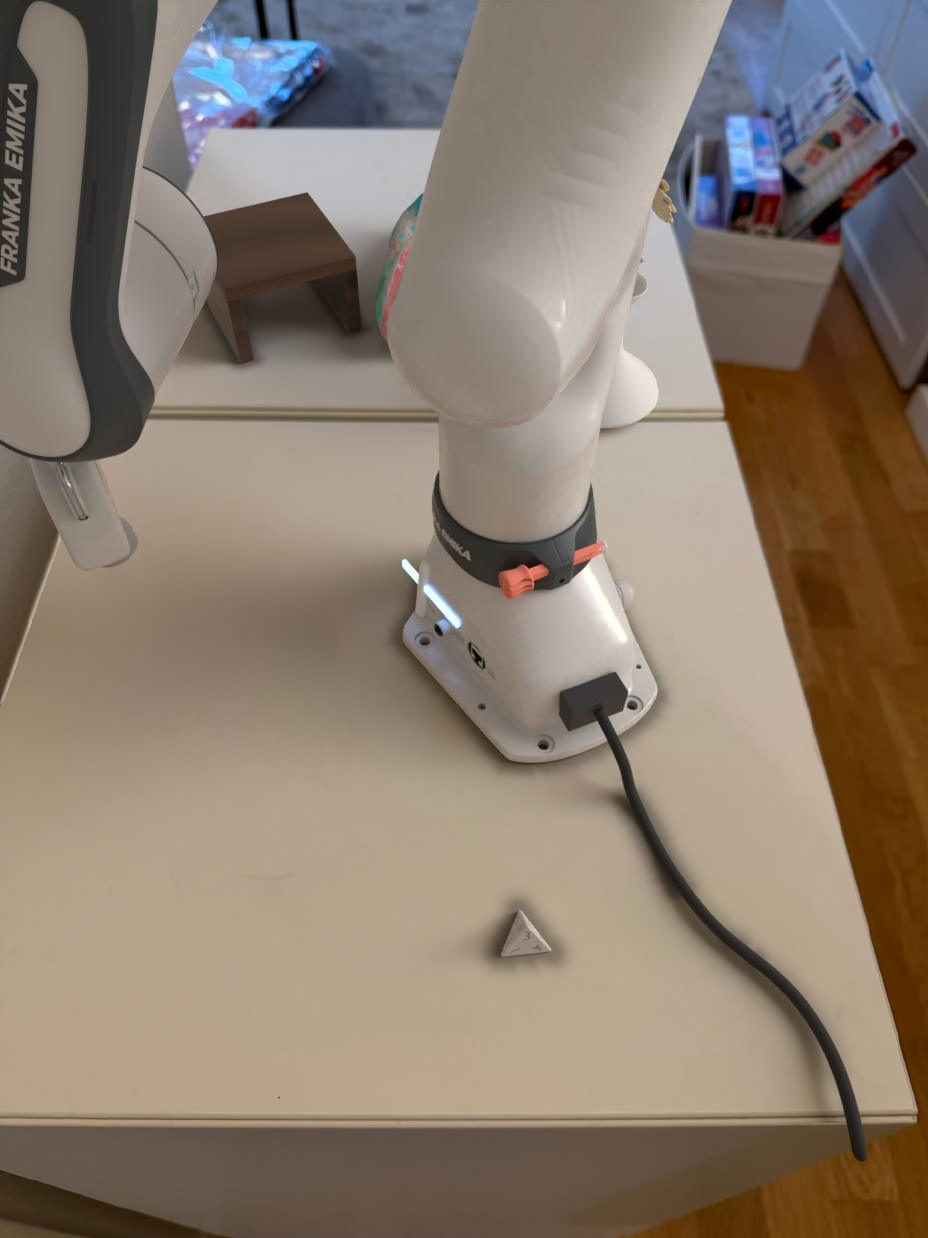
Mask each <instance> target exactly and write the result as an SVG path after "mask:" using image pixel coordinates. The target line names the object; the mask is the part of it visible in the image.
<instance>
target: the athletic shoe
mask: <svg viewBox="0 0 928 1238" xmlns="http://www.w3.org/2000/svg"><path fill="white" fill-rule="evenodd" d="M423 194H424V192H422V193H421V194H420V195H418V197H416V199H415V200H414V201H413V202H412V203H411V204H409V206H407V207H406V208H405V210H403V212H402V213H401V215H400V216H399V218H398V219H397V221H396V223H395V224H394V227H393V229H392V230H391V231H392V232H391V235H390V238H389V244H388V247H389V250H388V255H387V259H386V262H385V264H384V265H383V267H382V268H383V269H382V273H381V277H380V279H379V283H378V285H377V286H378V287H377V291H376V296H375V319H376V322H377V326H378V329H379V330H378V331H379V332H380V335H381V336H382V338H383V339H384V340H386V341H387V342H388V339H387V322H388V316H389V312H390V308H391V305H392V301H393V298H394V295H395V291H396V288H397V285H398V282H399V279H400V276H401V273H402V270H403V266H404V263H405V260H406V257H407V254H408V251H409V248H410V244H411V241H412V237H413V233H414V229H415V225H416V221H417V217H418V213H419V209H420V205H421V201H422V198H423Z"/></svg>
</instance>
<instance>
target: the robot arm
mask: <svg viewBox="0 0 928 1238" xmlns="http://www.w3.org/2000/svg"><path fill="white" fill-rule="evenodd" d="M218 2H219V0H0V445H1V446H2V447H4V448H5V449H7V450H9V451H11V452H13V453H16V454H17V455H20V456H23V457H25V458H28V460H29V463H30V466H31V469H32V473H33V476H34V479H35V484H36V486H37V489H38V491H39V494H40V496H41V498H42V501H43V503H44V506H45V508H46V510H47V512H48V514H49V516H50V519H51V521H52V523H53V525H54V526H55V528H56V530H57V533H58V534H59V536H60V539H61V541H62V543H63V544H64V546H65V549H66V550H67V554H68V555H69V556H70V558H71V561H72V562H73V564H74V565H75V566H76V568H77V569H79V570H80V571H83V572H88V571H92V570H95V569H96V570H97V569H100V568H104V567H103V566H106V565H109V564H112V563H114V562H117V561H119V560H122V559H124V558H126V557H127V556H129V554H130V545H129V542H128V539H127V536H126V533H125V530H124V528H123V525H122V522H121V520H120V517H121V516H120V513H119V511H118V509H117V506H116V503H115V501H114V498H113V495H112V492H111V489H110V487H109V484H108V481H107V478H106V476H105V473H104V471H103V467H102V465H101V463H100V460H104V459H108V458H112V457H116V456H119V455H121V454H124V453H126V452H128V451H129V450H131V449H132V448H133V447H134V446H135V445H136V444H137V443H138V441H139V439H140V438H141V437H142V433H143V431H144V428H145V425H146V423H147V421H148V419H149V416H150V414H151V411H152V409H153V407H154V403H155V401H156V395H157V394H158V392H159V390H160V388H161V387H162V384H163V382H164V381H165V379H166V377H167V375H168V373H169V371H170V369H171V368H172V365H173V364H174V363H175V360H176V358H177V356H178V355H179V353H180V351H181V349H182V347H183V345H184V343H185V341H186V339H187V338H188V336H189V334H190V332H191V329H192V328H193V325H194V324H195V322H196V320H197V319H198V317H199V315H200V313H201V311H202V309H203V307H204V305H205V303H206V299H207V297H208V294H209V292H210V290H211V288H212V286H213V284H214V282H215V280H216V277H217V273H218V252H217V247H216V244H215V240H214V237H213V235H212V232H211V230H210V228H209V226H208V224H207V222H206V220H205V218H204V217H203V216H204V215H203V213H202V212H201V210H200V209H199V208H198V205H196V204H195V203H194V201H193V200H192V199H191V198H190V197H189V196H188V194H186V193H185V192H184V191H183V190H182V189H181V188H180V187H179V186H178V185H177V184H176V183H174V182H173V181H172V180H170V179H168V177H166V176H165V175H163V174H161V173H159V172H157V171H156V170H153V169H152V168H150V167H146V166H145V165H143V164H144V160H145V154H146V151H147V145H148V142H149V137H150V134H151V130H152V127H153V124H154V122H155V118H156V115H157V113H158V110H159V108H160V105H161V102H162V100H163V98H164V96H165V93H166V91H167V89H168V87H169V85H170V82H171V81H172V79H173V76H174V74H175V73H176V71H177V69H178V67H179V65H180V63H181V61H182V60H183V58H184V56H185V54H186V52H187V51H188V49H189V47H190V46H191V44H192V43H193V41H194V39H195V37H196V36H197V34H198V33H199V32H200V29H201V28H202V26H203V25H204V23H205V21H206V20H207V19H208V17H209V16H210V14H211V13H212V11H213V10H214V8H215V6H216V5H217V4H218ZM732 2H733V0H478V2H477V6H476V10H475V14H474V18H473V21H472V25H471V29H470V32H469V37H468V39H467V43H466V47H465V49H464V53H463V56H462V59H461V62H460V64H459V67H458V72H457V74H456V78H455V81H454V84H453V86H452V91H451V94H450V98H449V101H448V105H447V108H446V112H445V113H444V118H443V121H442V124H441V127H440V130H439V131H440V132H439V135H438V138H437V142H436V145H435V150H434V153H433V156H432V160H431V164H430V168H429V170H428V171H429V172H428V175H427V179H426V183H425V186H424V190H423V193H424V194H423V198H422V201H421V205H420V209H419V213H418V217H417V221H416V225H415V229H414V233H413V237H412V241H411V244H410V248H409V251H408V254H407V257H406V260H405V263H404V266H403V270H402V273H401V276H400V279H399V282H398V285H397V288H396V291H395V295H394V298H393V301H392V305H391V308H390V312H389V316H388V322H387V339H388V341H387V345H388V349H389V350H388V351H389V353H390V356H391V359H392V361H393V364H394V367H395V368H396V370H397V372H398V373H399V375H400V378H402V380H403V381H404V382H405V384H406V385H407V387H408V388H409V389H410V390H411V391H412V392H413V393H414V395H416V397H418V399H420V400H421V401H422V402H423V403H424V404H426V406H428V407H429V408H431V409H432V410H434V411H435V412H436V413H438V471H437V473H436V475H435V478H434V483H433V490H432V495H431V514H432V519H433V520H432V521H433V528H434V532H433V535H432V537H431V539H430V542H429V543H428V546H427V548H426V550H425V552H424V555H423V557H422V559H421V562H420V564H419V568H418V571H417V570H416V569H415V568H414V567H413V566H412V565H411V564H410V562H409V561H408V560H407V559H403V560H402V561H401V562H402V563H401V564H402V568H403V570H405V571H406V573H407V574H408V575H409V576H410V577H411V578H412V579H413V580H414V582H415V583H416V584H417V588H416V600H415V609H414V611H413V612H412V614H411V615H410V616H409V618H408V619H407V621H406V622H405V624H404V626H403V629H402V637H401V639H402V643H403V644H404V646H405V647H406V648H407V649H408V651H409V652H410V653H411V654H412V655H413V656H414V657H415V659H416V660H417V661H419V663H420V664H421V666H423V668H424V669H426V671H427V672H428V673H429V674H430V675H431V676H432V678H434V680H435V681H436V682H437V683H438V684H439V685H440V686H441V687H442V689H443V690H444V691H445V692H446V693H447V694H448V696H450V698H451V699H452V700H453V701H454V702H455V703H456V704H457V705H458V707H459V708H460V709H462V711H463V712H464V713H465V714H466V715H467V717H468V718H469V719H470V721H472V722H473V724H475V726H476V727H477V728H478V729H479V730H480V731H481V733H482V734H483V735H484V736H485V737H486V738H487V739H488V740H489V741H490V742H491V744H492V745H493V746H494V747H495V748H496V749H497V750H498V751H499V753H500V754H502V756H503V757H504V758H506V759H507V760H509V761H511V762H516V763H526V764H531V763H532V764H534V763H537V764H538V763H546V762H547V763H548V762H554V761H559V760H563V759H567V758H570V757H573V756H576V755H579V754H580V755H581V754H583V753H585V752H587V751H589V750H592V749H595V748H596V747H597V748H598V747H599V746H601V745H603V744H605V743H608V745H609V747H610V750H611V751H612V754H613V757H614V759H615V761H616V764H617V766H618V770H619V773H620V777H621V781H622V786H623V790H624V792H625V793H624V794H625V795H626V798H627V800H628V803H629V805H630V807H631V809H632V811H633V813H634V817H635V818H636V820H637V822H638V824H639V826H640V828H641V830H642V831H643V835H644V836H645V838H646V840H647V842H648V844H649V846H650V848H651V850H652V852H653V854H654V856H655V857H656V860H657V861H658V863H659V864H660V866H661V868H662V869H663V871H664V873H665V874H666V876H667V878H668V879H669V880H670V881H671V883H672V885H673V887H675V889H676V890H677V892H678V893H679V894H680V896H681V897H682V899H683V900H684V901H685V902H686V904H687V905H688V906H689V908H690V909H691V910H692V911H693V913H694V914H695V915H696V916H697V918H699V920H700V921H701V922H702V923H703V925H705V927H706V928H707V929H708V930H709V931H710V932H711V933H712V934H713V935H714V936H715V937H716V938H717V939H719V940H720V941H721V942H722V943H724V945H726V947H728V948H729V949H730V950H731V951H733V952H734V953H735V954H736V955H737V956H739V957H740V958H742V959H743V960H744V961H745V962H746V963H748V964H749V965H750V966H752V967H753V968H754V969H755V970H757V971H758V972H759V973H760V974H762V975H763V976H764V977H765V978H767V980H769V981H770V982H771V983H772V984H773V985H774V986H775V987H776V988H778V989H779V991H780V992H781V993H782V994H783V995H784V996H785V997H786V998H787V999H788V1000H789V1001H790V1002H791V1004H792V1005H793V1006H794V1007H795V1008H796V1010H797V1012H798V1013H799V1015H801V1017H802V1018H803V1020H804V1021H805V1022H806V1024H807V1025H808V1027H809V1029H810V1031H811V1032H812V1034H813V1035H814V1037H815V1039H816V1041H817V1043H818V1045H819V1046H820V1048H821V1050H822V1052H823V1055H824V1057H825V1058H826V1061H827V1063H828V1066H829V1068H830V1070H831V1073H832V1076H833V1078H834V1082H835V1085H836V1088H837V1091H838V1094H839V1098H840V1102H841V1105H842V1108H843V1114H844V1117H845V1122H846V1127H847V1131H848V1136H849V1141H850V1147H851V1152H852V1154H853V1157H854V1158H855V1159H856V1160H857V1161H858V1162H862V1163H865V1162H867V1160H868V1149H867V1143H866V1138H865V1137H866V1136H865V1132H864V1128H863V1123H862V1118H861V1115H860V1111H859V1107H858V1103H857V1098H856V1095H855V1092H854V1089H853V1086H852V1082H851V1080H850V1077H849V1074H848V1072H847V1069H846V1066H845V1064H844V1061H843V1059H842V1057H841V1054H840V1052H839V1050H838V1048H837V1046H836V1044H835V1043H834V1041H833V1039H832V1036H831V1034H830V1033H829V1031H828V1030H827V1028H826V1026H825V1025H824V1023H823V1022H822V1020H821V1018H820V1017H819V1016H818V1014H817V1013H816V1011H815V1010H814V1008H813V1007H812V1006H811V1004H810V1003H809V1002H808V1001H807V999H806V998H805V996H804V995H803V994H802V993H801V992H800V991H799V989H797V988H796V986H795V985H793V983H792V982H791V981H790V980H789V979H788V978H787V977H785V975H783V974H782V972H780V971H779V970H778V969H777V968H775V967H774V966H773V965H772V964H771V963H770V962H769V961H767V960H766V959H764V958H763V957H762V956H760V955H759V954H758V953H757V952H756V951H754V950H753V949H752V948H750V947H749V946H748V945H746V944H745V943H744V942H743V941H742V940H740V939H739V938H738V937H737V936H735V935H734V934H733V933H732V932H731V931H730V930H728V929H727V928H726V927H725V925H723V924H722V923H721V922H720V921H719V920H718V919H717V918H716V917H715V916H714V915H713V914H712V913H711V912H710V911H709V909H708V908H707V907H706V906H705V904H704V903H703V902H702V901H701V899H700V898H699V896H698V895H696V893H695V891H694V890H693V888H692V887H691V885H689V884H688V882H687V881H686V879H685V878H684V877H683V875H682V873H681V872H680V871H679V868H678V867H677V866H676V864H675V863H674V861H673V860H672V858H671V857H670V855H669V852H667V850H666V848H665V846H664V845H663V843H662V841H661V839H660V837H659V835H658V834H657V831H656V829H655V827H654V825H653V823H652V821H651V819H650V817H649V815H648V813H647V811H646V808H645V806H644V804H643V802H642V800H641V797H640V794H639V792H638V790H637V787H636V784H635V779H634V774H633V770H632V766H631V763H630V760H629V758H628V756H627V753H626V750H625V749H624V746H623V744H622V741H621V740H620V737H619V736H620V735H622V734H623V733H625V732H627V731H628V730H629V729H631V728H632V727H634V725H637V723H638V722H639V721H640V720H642V718H644V717H645V715H646V714H647V713H648V712H649V711H650V709H651V708H652V707H653V705H654V702H655V701H656V699H657V697H658V689H659V688H658V685H657V681H656V679H655V677H654V675H653V673H652V670H651V669H650V666H649V665H648V662H647V660H646V659H645V656H644V654H643V652H642V650H641V647H640V645H639V643H638V641H637V639H636V637H635V635H634V632H633V630H632V627H631V625H630V622H629V619H628V617H627V614H626V612H625V610H628V609H631V608H633V607H634V606H635V602H636V596H635V591H634V588H633V586H632V585H631V582H629V581H628V580H626V579H624V580H618V581H615V582H614V580H613V576H612V573H611V571H610V568H609V567H608V563H607V561H606V559H605V556H607V555H608V553H609V546H608V542H607V541H606V539H605V538H598V528H597V527H598V526H597V516H596V514H597V513H598V512H597V503H596V499H595V498H594V497H595V496H594V489H593V484H592V478H593V471H594V466H595V462H596V461H595V460H596V455H597V449H598V443H599V438H600V433H601V428H600V427H601V422H602V417H603V412H604V408H605V404H606V400H607V396H608V392H609V388H610V384H611V380H612V377H613V373H614V369H615V365H616V361H617V357H618V353H619V349H620V345H621V341H622V336H623V337H624V335H623V332H624V333H625V330H624V328H625V329H626V325H627V322H626V320H627V321H628V319H627V316H628V312H629V307H630V303H631V299H632V295H633V290H634V286H635V282H636V277H637V273H639V268H640V265H641V263H640V260H641V258H642V256H643V251H644V248H645V247H644V246H645V242H646V238H647V233H648V228H649V223H650V219H651V213H652V202H653V198H654V196H655V193H656V191H657V188H658V186H659V183H660V181H661V179H663V177H664V173H665V171H666V168H667V166H668V162H669V161H670V158H671V157H672V154H673V151H674V149H675V145H676V143H677V141H678V138H679V136H680V133H681V132H682V128H683V126H684V123H685V121H686V118H687V116H688V114H689V111H690V109H691V106H692V103H693V101H694V99H695V96H696V94H697V92H698V90H699V87H700V85H701V82H702V80H703V77H704V74H705V71H706V69H707V66H708V65H709V62H710V59H711V56H712V54H713V51H714V49H715V46H716V43H717V41H718V38H719V36H720V33H721V30H722V28H723V25H724V23H725V21H726V19H727V18H726V17H727V15H728V12H729V10H730V7H731V5H732ZM628 317H629V316H628ZM625 324H626V325H625ZM119 516H120V517H119ZM423 643H428V644H427V645H424V644H423ZM630 706H631V707H633V708H635V709H630V708H629V707H630ZM541 745H542V746H543V745H544V746H546V747H547V748H546V749H542V748H540V747H539V746H541Z"/></svg>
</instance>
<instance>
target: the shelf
mask: <svg viewBox="0 0 928 1238" xmlns="http://www.w3.org/2000/svg"><path fill="white" fill-rule="evenodd" d="M203 217H204V218H205V220H206V222H207V224H208V226H209V228H210V230H211V232H212V235H213V237H214V240H215V244H216V247H217V252H218V273H217V277H216V280H215V282H214V284H213V286H212V288H211V290H210V292H209V294H208V297H207V299H206V301H205V303H206V305H207V306H208V308H209V310H210V311H211V313H212V315H213V317H214V318H215V320H216V323H217V324H218V326H219V327H220V329H221V331H222V333H223V335H224V336H225V338H226V341H227V342H228V343H229V346H230V347H231V349H232V351H233V353H234V355H235V356H236V358H237V360H238V362H239V363H240V365H243V364H246V363H250V362H254V361H255V358H254V357H255V356H254V352H253V348H252V347H253V346H252V343H251V342H252V341H251V338H250V333H249V328H248V323H247V318H246V313H245V308H244V304H243V299H246V298H250V297H254V296H258V295H262V294H265V293H269V292H273V291H277V290H280V289H285V288H288V287H292V286H296V285H300V284H304V283H307V282H312V281H313V282H314V284H315V285H316V286H317V288H318V289H319V291H320V293H321V294H322V296H323V297H324V298H325V299H326V301H327V302H328V304H329V305H330V307H331V309H333V311H334V313H335V314H336V316H337V317H338V319H339V320H340V321H341V323H342V324H343V326H344V327H345V328H346V330H347V331H348V333H349V334H352V333H355V332H359V331H363V325H362V315H361V301H360V292H359V291H360V290H359V280H358V279H359V278H358V269H357V256H356V255H355V253H354V252H353V251H352V249H351V248H350V247H349V245H348V244H347V242H346V241H345V240H344V239H343V237H342V236H341V234H339V232H338V230H337V229H336V228H335V227H334V226H333V224H332V223H331V222H330V219H328V217H327V216H326V214H325V213H324V212H323V211H322V210H321V208H320V207H319V205H318V204H317V202H315V200H314V199H313V198H312V195H310V194H309V192H308V191H306V192H301V193H297V194H294V195H293V194H292V195H289V196H285V197H281V198H276V199H272V200H267V201H262V202H258V203H255V204H252V205H246V206H241V207H237V208H233V209H229V210H225V211H220V212H215V213H212V214H208V215H207V214H206V215H203Z"/></svg>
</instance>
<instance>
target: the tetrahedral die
mask: <svg viewBox="0 0 928 1238" xmlns="http://www.w3.org/2000/svg"><path fill="white" fill-rule="evenodd" d="M550 952H552V948H551V946H550V945H549V944H548V943H547V942H546V940H545V939H544V937H542V935H541V934H540V933H539V931H538V930H537V929H536V928H535V926H534V925H533V923H532V922H531V921H530V919H528V917H527V916H526V914H525V913H524V912H523V910H522V909H519V910H518V911H517V914H516V916H515V919H514V921H513V924H512V925H511V928H510V931H509V933H508V935H507V938H506V941H505V943H504V946H503V948H502V951H501V953H500V956H501V957H502V958H503V957H512V956H513V957H514V956H522V955H523V956H524V955H531V954H532V955H533V954H540V953H550Z"/></svg>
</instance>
